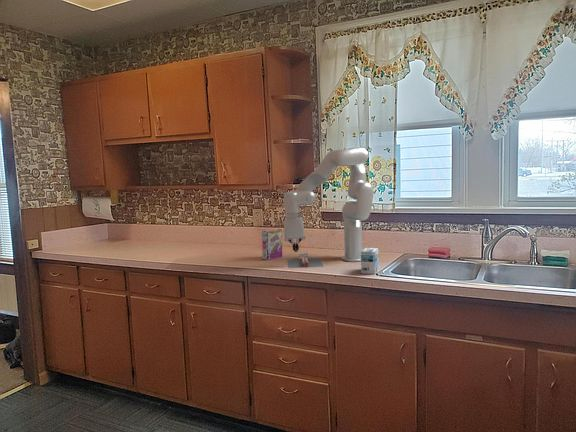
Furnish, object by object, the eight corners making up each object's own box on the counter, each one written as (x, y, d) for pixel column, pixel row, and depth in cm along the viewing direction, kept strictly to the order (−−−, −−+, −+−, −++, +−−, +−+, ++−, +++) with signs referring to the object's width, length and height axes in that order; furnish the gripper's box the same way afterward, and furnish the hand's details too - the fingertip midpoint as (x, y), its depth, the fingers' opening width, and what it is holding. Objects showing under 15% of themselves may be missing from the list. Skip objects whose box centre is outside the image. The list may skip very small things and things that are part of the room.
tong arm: (301, 260, 244) (301, 257, 244) (303, 260, 244) (303, 256, 244) (303, 267, 229) (302, 263, 228) (305, 267, 229) (305, 262, 228)
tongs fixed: (301, 259, 248) (301, 255, 247) (306, 259, 248) (306, 255, 248) (303, 267, 229) (303, 263, 228) (308, 267, 229) (308, 263, 228)
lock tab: (298, 257, 252) (298, 252, 252) (307, 257, 253) (307, 251, 252) (299, 259, 247) (299, 253, 247) (308, 259, 248) (307, 253, 247)
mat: (319, 258, 252) (319, 257, 252) (323, 267, 229) (323, 266, 229) (287, 259, 251) (287, 258, 251) (288, 269, 228) (288, 267, 228)
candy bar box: (268, 260, 250) (266, 231, 249) (262, 259, 254) (261, 230, 252) (283, 257, 258) (282, 229, 256) (277, 256, 262) (276, 228, 260)
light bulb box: (375, 274, 211) (374, 251, 210) (360, 273, 214) (360, 251, 213) (379, 269, 221) (379, 247, 220) (365, 268, 224) (365, 247, 223)
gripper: (307, 213, 233) (309, 248, 236) (278, 216, 233) (281, 251, 235) (308, 215, 226) (311, 251, 228) (278, 218, 225) (281, 254, 228)
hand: (296, 251), depth 232 cm, fingers closed
